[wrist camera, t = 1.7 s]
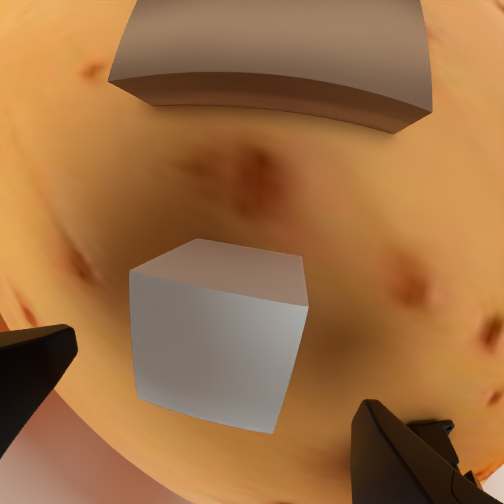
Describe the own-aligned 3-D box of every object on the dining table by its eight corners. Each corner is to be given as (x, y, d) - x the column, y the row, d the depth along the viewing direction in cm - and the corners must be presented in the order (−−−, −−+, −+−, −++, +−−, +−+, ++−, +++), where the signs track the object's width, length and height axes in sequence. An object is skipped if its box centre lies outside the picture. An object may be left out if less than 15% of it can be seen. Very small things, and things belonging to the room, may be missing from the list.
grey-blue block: (282, 348, 14) (272, 434, 8) (190, 329, 14) (137, 397, 8) (302, 255, 12) (309, 307, 7) (197, 238, 13) (129, 270, 7)
